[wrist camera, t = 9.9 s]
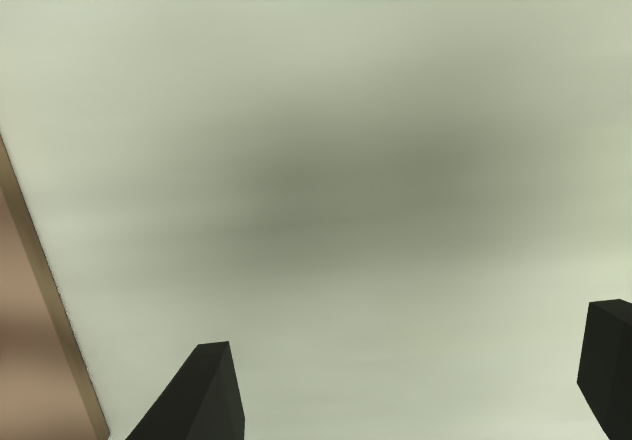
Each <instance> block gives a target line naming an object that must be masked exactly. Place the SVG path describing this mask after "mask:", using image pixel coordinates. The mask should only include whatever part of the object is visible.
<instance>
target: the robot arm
mask: <svg viewBox="0 0 632 440" xmlns="http://www.w3.org/2000/svg"><path fill="white" fill-rule="evenodd" d="M577 384H578V386H579V388H580V390H581V391H582V393H583V395H584V397H585V399H586V401H587V403H588V405H589V407H590V408H591V410H592V412H593V414H594V415H595V417H596V419H597V421H598V422H599V424H600V426H601V427H602V429H603V431H604V432H605V434H606V435H607V437H608V438H609V439H610V440H632V303H629V302H626V301H624V300H621V299H615V300H606V301H596V302H589V307H588V313H587V320H586V326H585V333H584V339H583V345H582V352H581V358H580V365H579V371H578V377H577ZM244 429H245V416H244V412H243V407H242V402H241V397H240V393H239V388H238V383H237V378H236V373H235V369H234V364H233V359H232V354H231V350H230V345H229V341H226V342H217V343H207V344H198V345H197V347H196V348H195V349H194V350H193V352H192V353H191V354H190V356H189V357H188V358H187V360H186V361H185V362H184V364H183V365H182V367H181V368H180V369H179V371H178V372H177V373H176V375H175V376H174V377H173V379H172V380H171V382H170V383H169V384H168V386H167V387H166V388H165V390H164V391H163V392H162V394H161V395H160V396H159V398H158V399H157V400H156V402H155V403H154V404H153V405H152V407H151V408H150V409H149V411H148V412H147V413H146V414H145V416H144V417H143V418H142V419H141V421H140V422H139V423H138V425H137V426H136V427H135V428H134V430H133V431H132V432H131V433H130V435H129V436H128V437H127V438H126V439H125V440H244Z"/></svg>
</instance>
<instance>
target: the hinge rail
mask: <svg viewBox="0 0 632 440" xmlns="http://www.w3.org/2000/svg"><path fill="white" fill-rule="evenodd" d="M109 435H110V433H109V430H108V428H107V425H106V422H105V419H104V417H103V414H102V411H101V409H100V406H99V403H98V400H97V398H96V395H95V392H94V389H93V387H92V384H91V381H90V379H89V376H88V373H87V370H86V368H85V365H84V362H83V360H82V357H81V354H80V351H79V349H78V346H77V343H76V340H75V338H74V335H73V332H72V330H71V327H70V324H69V321H68V319H67V316H66V313H65V310H64V308H63V305H62V302H61V300H60V297H59V294H58V291H57V289H56V286H55V283H54V281H53V278H52V275H51V272H50V270H49V267H48V264H47V261H46V259H45V256H44V253H43V251H42V248H41V245H40V242H39V240H38V237H37V234H36V232H35V229H34V226H33V223H32V221H31V218H30V215H29V212H28V210H27V207H26V204H25V202H24V199H23V196H22V193H21V191H20V188H19V185H18V183H17V180H16V177H15V174H14V172H13V169H12V166H11V163H10V161H9V158H8V155H7V153H6V150H5V147H4V144H3V142H2V139H1V136H0V440H108V438H109Z"/></svg>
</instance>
